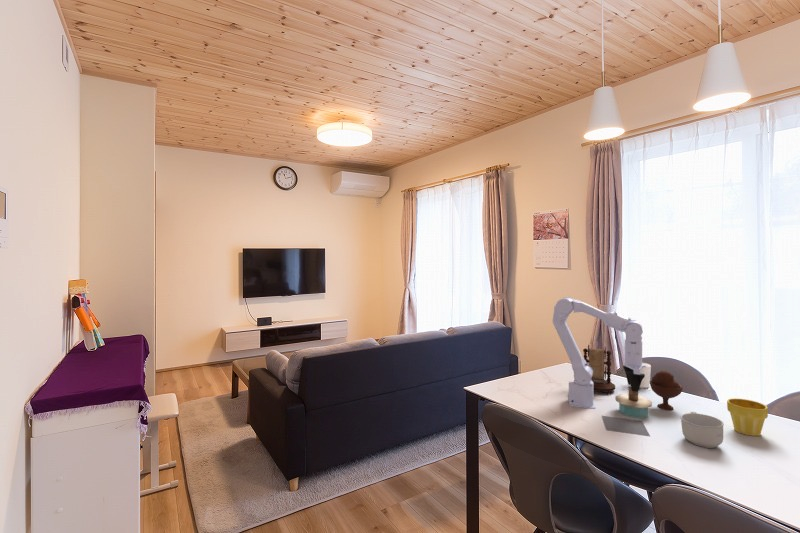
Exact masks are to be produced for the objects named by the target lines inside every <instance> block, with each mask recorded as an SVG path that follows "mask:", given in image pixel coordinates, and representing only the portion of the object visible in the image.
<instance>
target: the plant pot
mask: <svg viewBox="0 0 800 533" xmlns="http://www.w3.org/2000/svg"><path fill="white" fill-rule="evenodd" d="M726 401H727V402H726V408H727V411H728V412H729V415H730V417H731V421H732V424H733V425H732V426H733V429H734V430H735V431H736V432H738V433H740V434H742V435H747V436H752V437H757V436H761V434H762V431H763V430H762V429H763V426H764V424H765V420H766V419H768V416H769V407H768V406H767V405H766V404H764V403H762V402H759V401H754V400H751V399H746V398H745V399H744V398H728V399H727V400H726Z"/></svg>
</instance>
